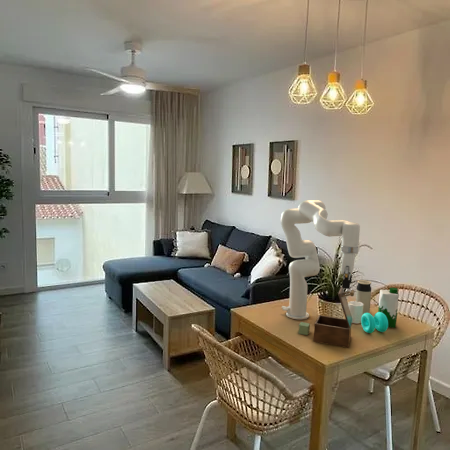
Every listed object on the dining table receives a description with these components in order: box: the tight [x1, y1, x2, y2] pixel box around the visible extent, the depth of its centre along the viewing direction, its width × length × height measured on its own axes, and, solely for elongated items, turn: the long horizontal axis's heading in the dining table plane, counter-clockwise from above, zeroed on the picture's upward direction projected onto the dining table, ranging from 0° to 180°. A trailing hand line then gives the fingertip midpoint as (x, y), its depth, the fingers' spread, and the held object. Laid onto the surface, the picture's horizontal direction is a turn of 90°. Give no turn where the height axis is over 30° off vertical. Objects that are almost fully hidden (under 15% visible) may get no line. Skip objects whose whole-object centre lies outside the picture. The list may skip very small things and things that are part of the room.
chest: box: [313, 314, 353, 348], centre depth 185 cm, size 16×13×9 cm
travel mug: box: [355, 279, 372, 315], centre depth 223 cm, size 8×8×18 cm
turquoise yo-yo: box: [360, 311, 389, 334], centre depth 195 cm, size 10×10×10 cm
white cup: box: [347, 300, 364, 325], centre depth 209 cm, size 8×8×10 cm
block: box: [298, 321, 311, 336], centre depth 193 cm, size 4×4×4 cm
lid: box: [337, 286, 356, 328], centre depth 181 cm, size 16×13×6 cm
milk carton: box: [377, 287, 400, 329], centre depth 204 cm, size 9×9×20 cm
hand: (346, 285), depth 181 cm, fingers open, 9 cm apart
